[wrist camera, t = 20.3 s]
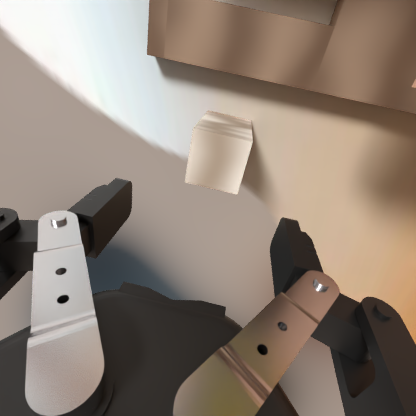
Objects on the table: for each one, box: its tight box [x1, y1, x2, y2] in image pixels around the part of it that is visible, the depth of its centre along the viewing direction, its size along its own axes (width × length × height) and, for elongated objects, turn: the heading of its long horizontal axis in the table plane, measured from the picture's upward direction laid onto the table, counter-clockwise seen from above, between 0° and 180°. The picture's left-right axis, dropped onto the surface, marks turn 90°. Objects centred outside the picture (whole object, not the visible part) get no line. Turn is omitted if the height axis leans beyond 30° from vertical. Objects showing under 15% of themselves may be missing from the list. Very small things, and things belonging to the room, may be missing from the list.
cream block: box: [185, 111, 253, 195], centre depth 22 cm, size 4×4×8 cm
